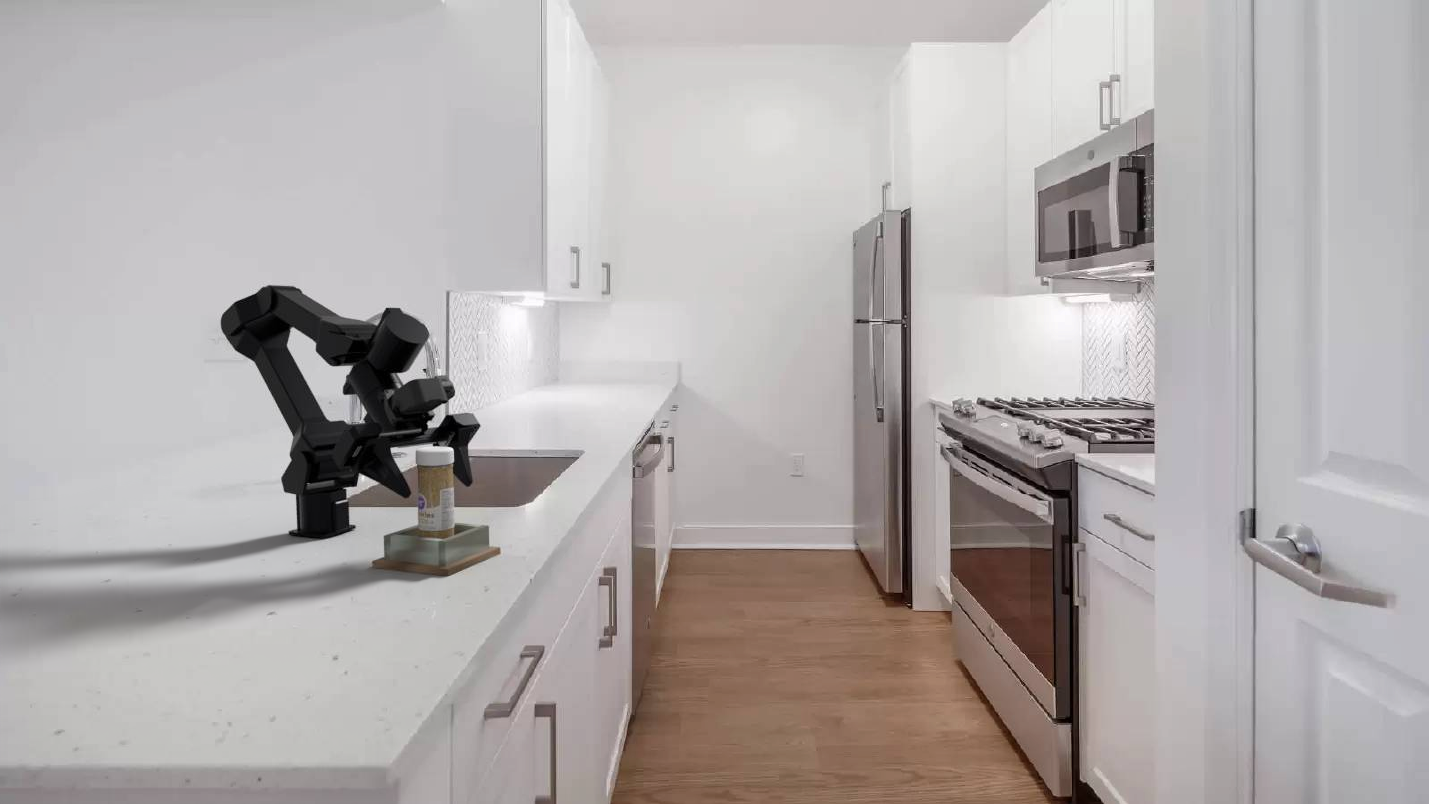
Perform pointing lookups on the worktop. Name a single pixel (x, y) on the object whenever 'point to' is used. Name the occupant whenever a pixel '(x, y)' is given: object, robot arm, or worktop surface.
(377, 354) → the robot arm
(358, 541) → the worktop surface
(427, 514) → the sprinkles bottle
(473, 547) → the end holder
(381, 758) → the worktop surface
